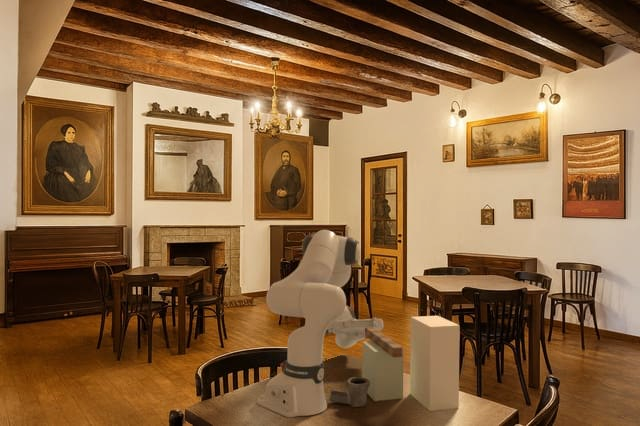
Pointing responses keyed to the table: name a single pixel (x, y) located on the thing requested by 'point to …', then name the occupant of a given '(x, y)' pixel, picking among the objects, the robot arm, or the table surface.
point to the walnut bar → (383, 342)
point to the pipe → (352, 392)
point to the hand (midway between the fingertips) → (363, 320)
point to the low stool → (382, 372)
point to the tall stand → (434, 362)
